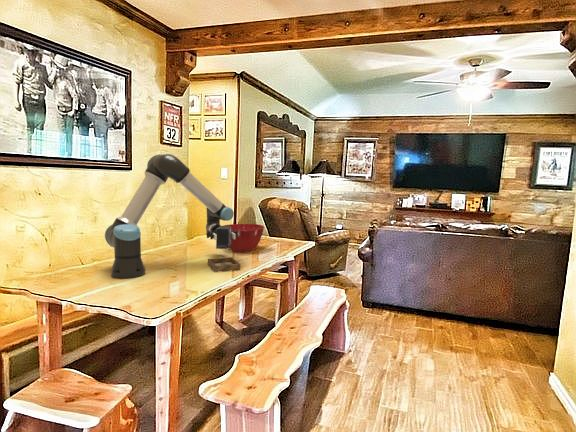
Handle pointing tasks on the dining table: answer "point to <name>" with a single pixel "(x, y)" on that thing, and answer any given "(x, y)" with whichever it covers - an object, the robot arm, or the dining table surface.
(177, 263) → the dining table surface
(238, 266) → the walnut tray
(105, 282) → the dining table surface
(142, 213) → the robot arm
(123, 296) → the dining table surface
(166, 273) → the dining table surface
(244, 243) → the mixing bowl
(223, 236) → the small box
